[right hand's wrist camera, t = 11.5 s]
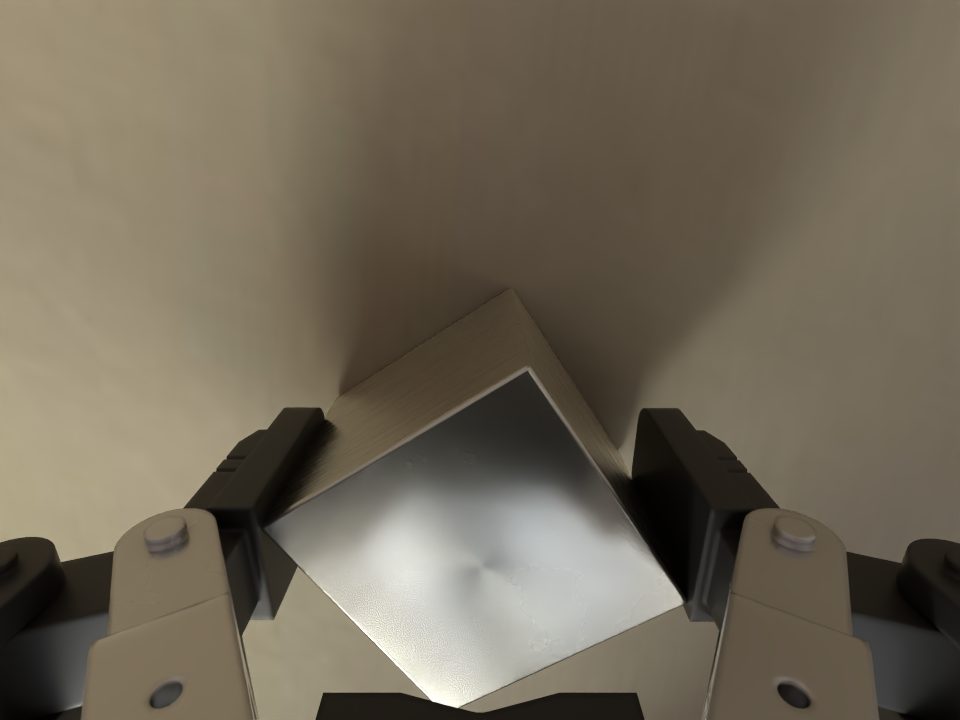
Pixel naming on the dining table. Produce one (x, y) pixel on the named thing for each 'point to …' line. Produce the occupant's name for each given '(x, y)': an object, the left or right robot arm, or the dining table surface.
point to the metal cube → (474, 512)
